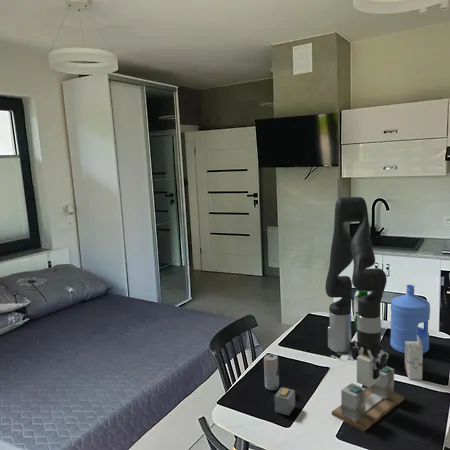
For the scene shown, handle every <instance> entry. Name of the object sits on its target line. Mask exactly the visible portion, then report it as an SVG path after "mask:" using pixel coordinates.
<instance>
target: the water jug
mask: <svg viewBox="0 0 450 450" xmlns="http://www.w3.org/2000/svg"><path fill="white" fill-rule="evenodd" d="M415 287H416V286H415V285H413V284H407V285H406V294H403V295H400V296H396V297H393V298H392V299H391V301H390V339H389V341H390V343H389V344H390V346H391V347H392V348H393V349H394V350H395V351H397V352H399V353H403V354H405V341H413V342H417V335H418V337H419V339H420V341H421V342H422V350H423V354H425V353H427V352H428V351H429V350H430V332H429V320H430V314H431V304H430V302H429V301H428V300H427V299H425V298H423V297H420V296H417V295H416V294H415ZM422 323H423V327H421V326H419V324H422ZM419 343H420V342H419Z"/></svg>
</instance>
